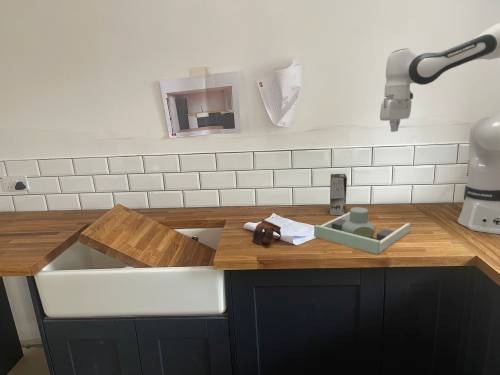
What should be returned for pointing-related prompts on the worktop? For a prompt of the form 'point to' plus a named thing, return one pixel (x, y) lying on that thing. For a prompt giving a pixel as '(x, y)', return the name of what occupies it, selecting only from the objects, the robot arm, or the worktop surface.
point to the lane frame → (356, 240)
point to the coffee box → (338, 194)
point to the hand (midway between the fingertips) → (394, 131)
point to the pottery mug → (265, 232)
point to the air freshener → (359, 223)
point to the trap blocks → (379, 236)
